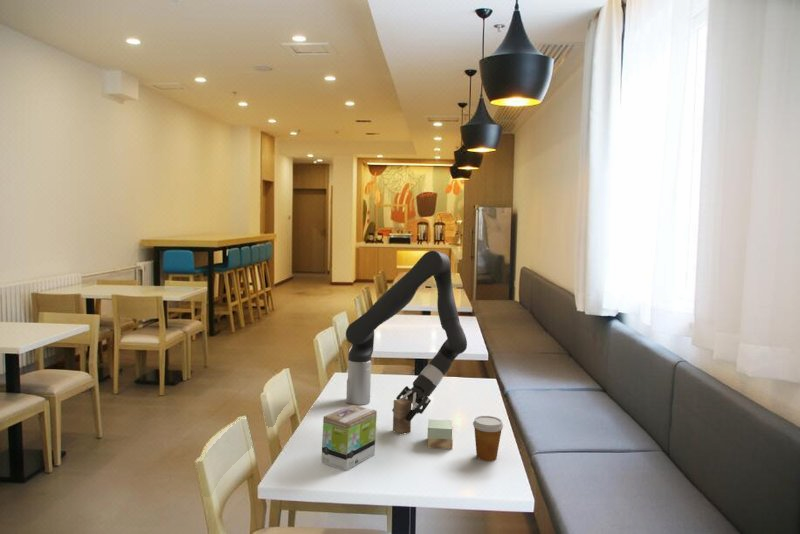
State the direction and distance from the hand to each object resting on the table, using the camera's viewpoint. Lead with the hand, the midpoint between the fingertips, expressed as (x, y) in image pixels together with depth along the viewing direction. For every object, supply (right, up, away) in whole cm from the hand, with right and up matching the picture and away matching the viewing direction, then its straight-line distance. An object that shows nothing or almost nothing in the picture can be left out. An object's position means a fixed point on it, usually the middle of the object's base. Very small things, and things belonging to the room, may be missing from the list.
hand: (400, 416), depth 202 cm
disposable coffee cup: (+27, -8, -18) cm, 34 cm away
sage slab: (+13, -4, -9) cm, 16 cm away
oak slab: (+13, -7, -9) cm, 17 cm away
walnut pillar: (0, -6, +1) cm, 6 cm away
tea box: (-16, -8, -23) cm, 29 cm away
